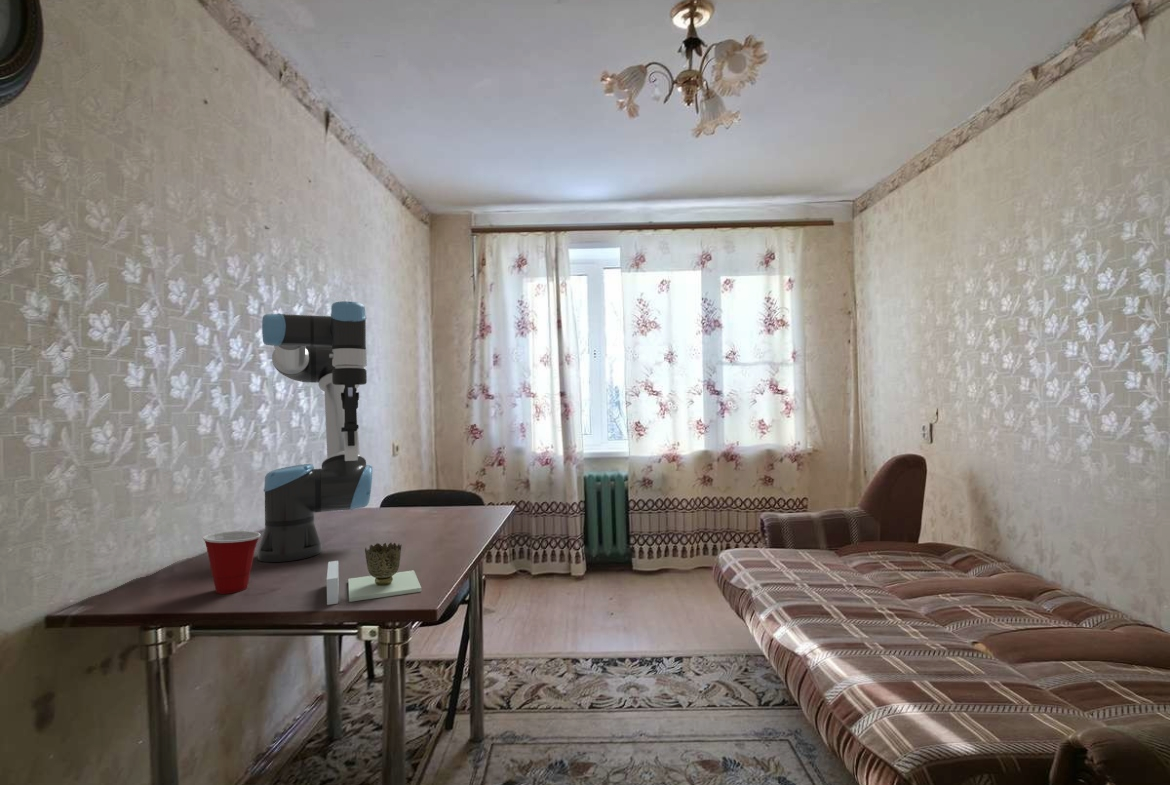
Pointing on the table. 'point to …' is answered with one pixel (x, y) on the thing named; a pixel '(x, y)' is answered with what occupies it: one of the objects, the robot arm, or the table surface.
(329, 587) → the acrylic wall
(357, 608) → the table surface
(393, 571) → the cup
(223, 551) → the plastic cup
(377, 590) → the green pad
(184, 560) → the table surface
